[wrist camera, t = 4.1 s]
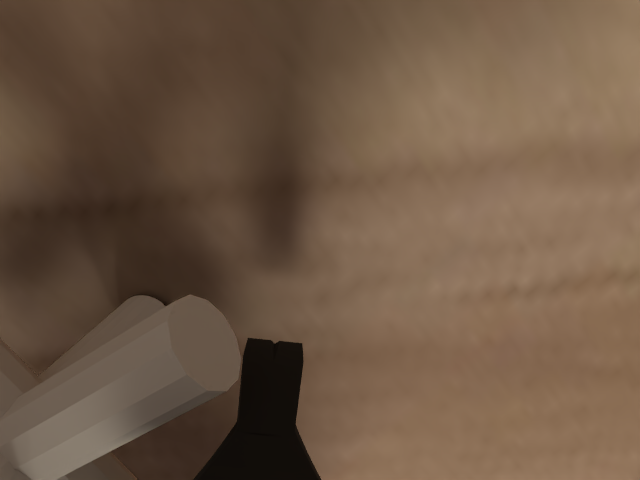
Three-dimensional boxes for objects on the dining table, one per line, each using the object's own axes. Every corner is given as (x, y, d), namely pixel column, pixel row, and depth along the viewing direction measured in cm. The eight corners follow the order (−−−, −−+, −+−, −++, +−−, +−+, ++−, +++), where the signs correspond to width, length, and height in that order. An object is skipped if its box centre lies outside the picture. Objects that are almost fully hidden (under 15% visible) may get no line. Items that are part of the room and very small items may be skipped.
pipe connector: (-64, 272, 13) (-1159, 715, 4) (161, 94, 11) (-1410, 24, 1) (135, 476, 15) (-214, 1071, 6) (357, 368, 13) (364, 1091, 3)
